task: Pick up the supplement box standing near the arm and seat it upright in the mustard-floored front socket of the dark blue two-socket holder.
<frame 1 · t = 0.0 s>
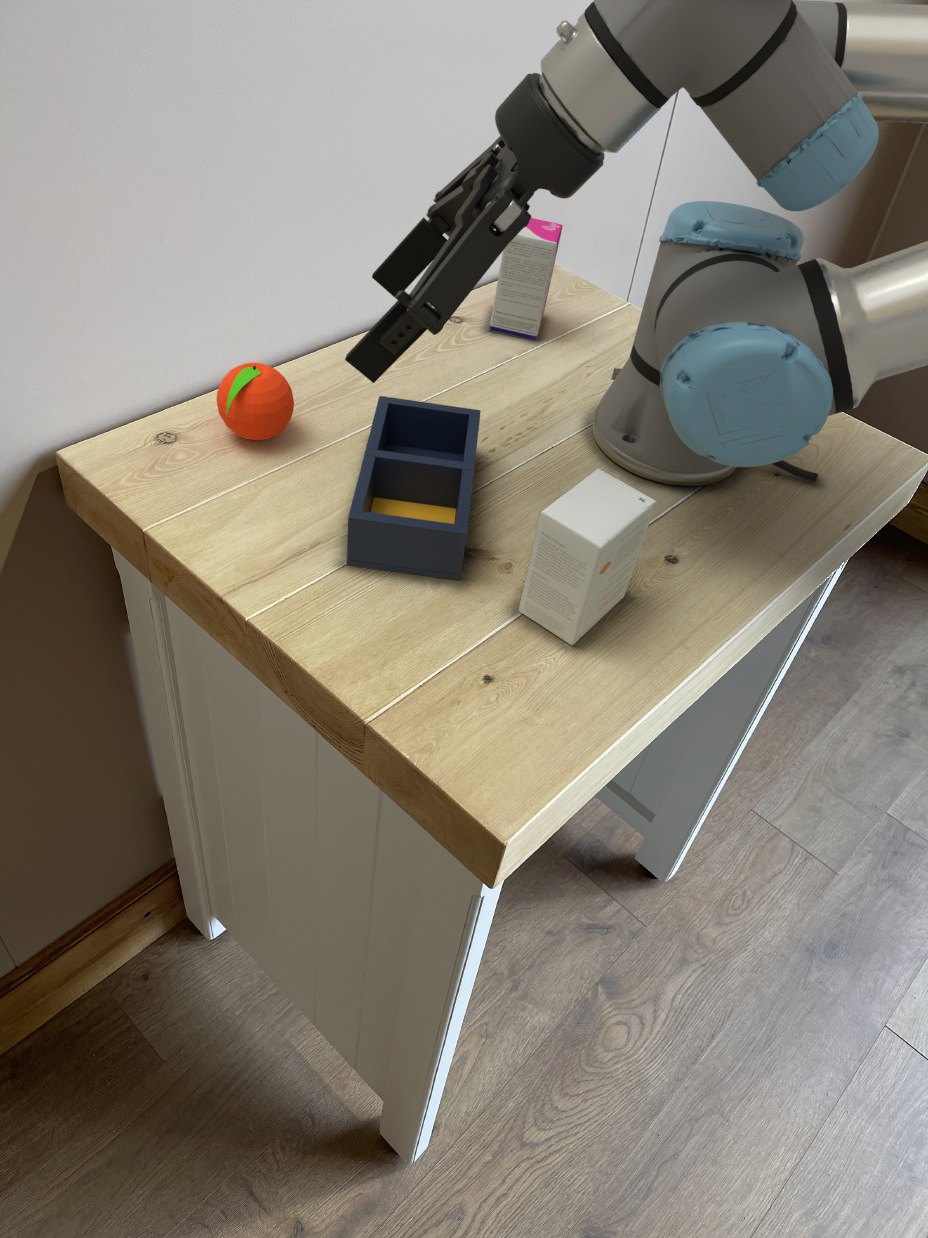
hand: (372, 325, 73), 15 cm above the table, tool tilted 35°, fingers open, 13 cm apart
clementine: (254, 438, 86), on the table
supplement box: (516, 326, 108), on the table
holder: (415, 505, 82), on the table
small box: (570, 606, 75), on the table
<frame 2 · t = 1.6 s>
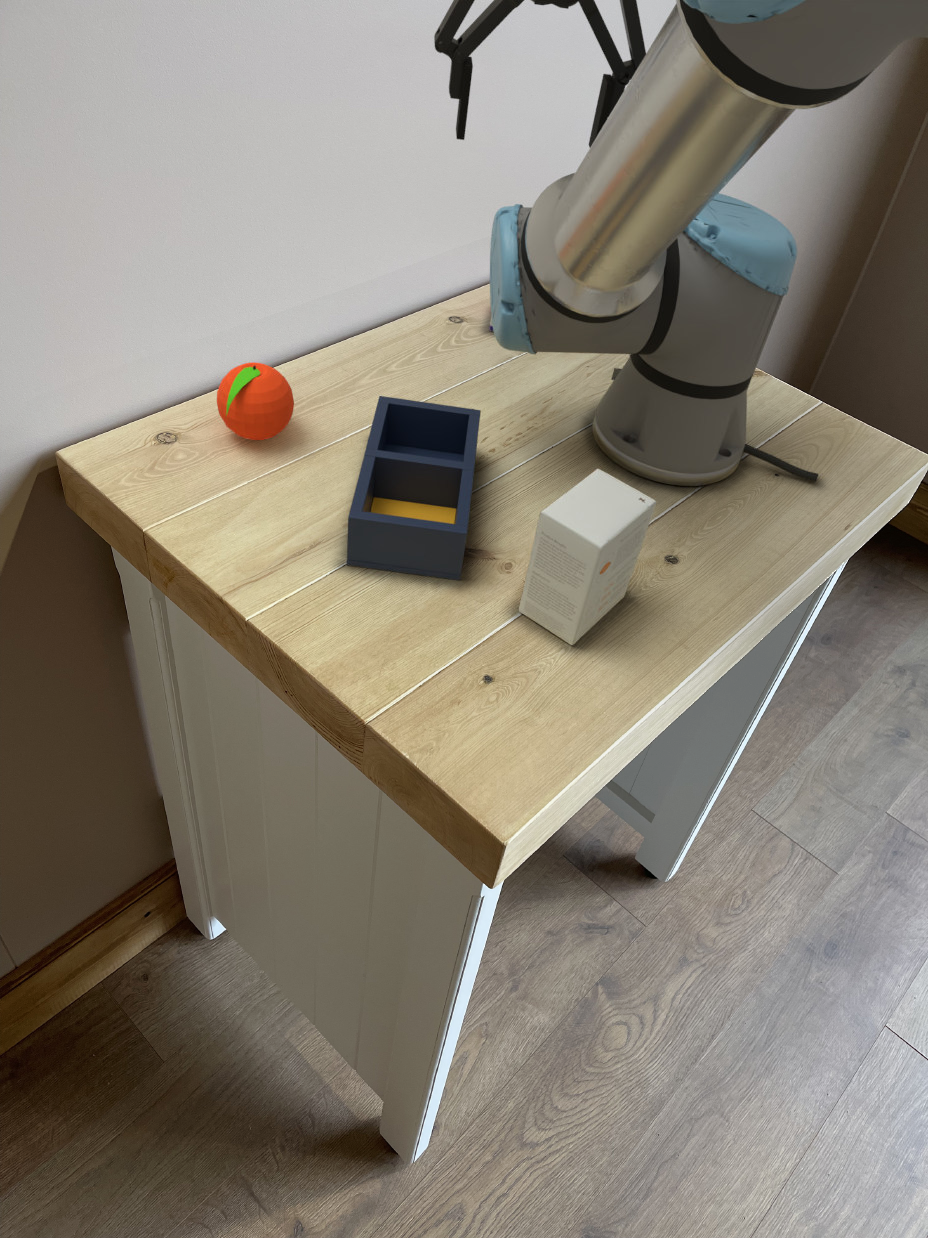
hand: (527, 142, 92), 20 cm above the table, tool pointing down, fingers open, 13 cm apart
nothing on the table moved.
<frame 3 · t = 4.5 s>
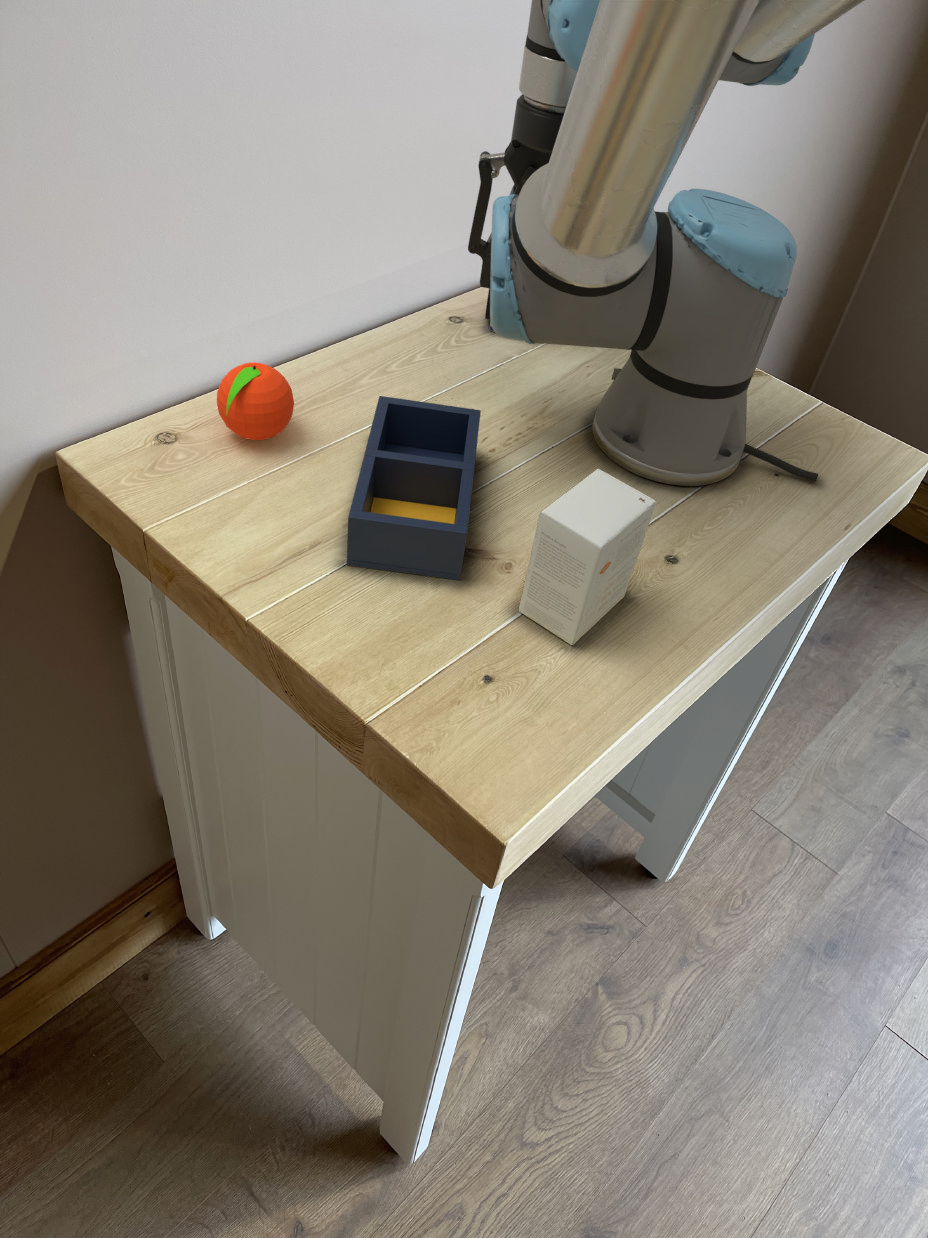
hand: (518, 317, 107), 1 cm above the table, tool pointing down, fingers closed on supplement box, 6 cm apart
supplement box: (516, 326, 108), on the table, touching gripper
everything else where it was.
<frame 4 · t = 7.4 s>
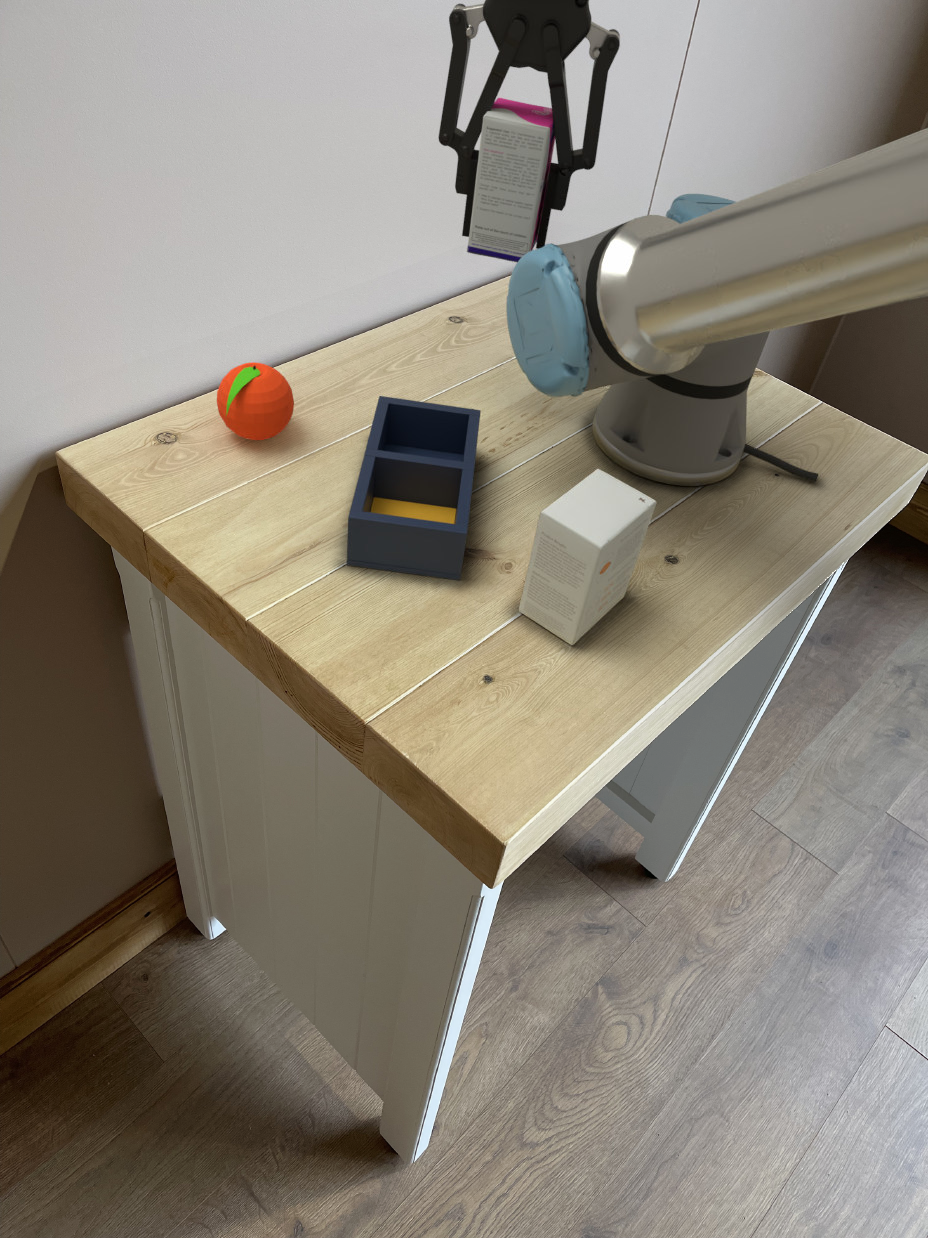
hand: (504, 236, 84), 17 cm above the table, tool pointing down, fingers closed on supplement box, 6 cm apart
supplement box: (503, 248, 85), point 16 cm above the table, touching gripper
everything else where it was.
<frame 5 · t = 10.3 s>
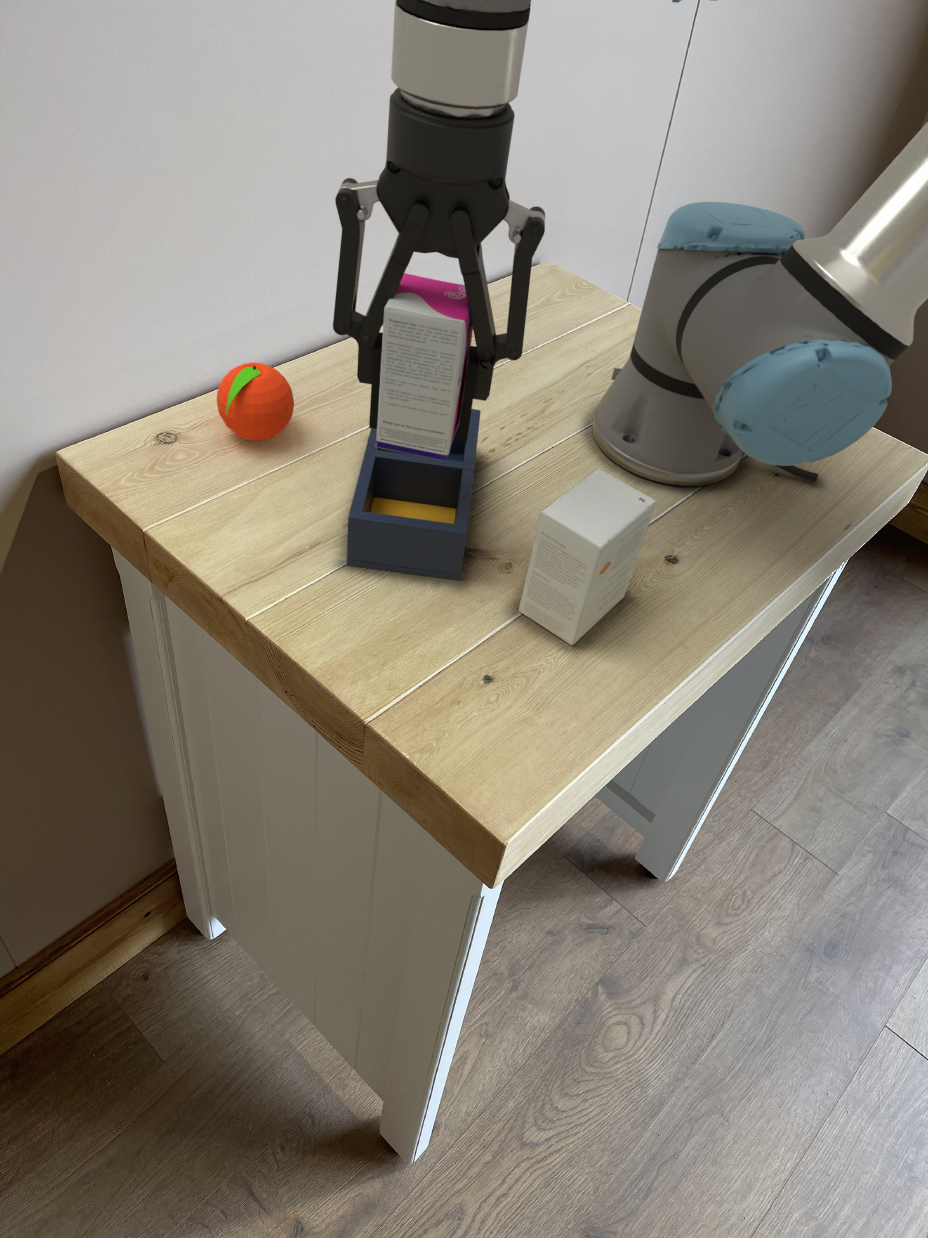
hand: (420, 424, 71), 11 cm above the table, tool pointing down, fingers closed on supplement box, 6 cm apart
supplement box: (420, 436, 72), point 10 cm above the table, touching gripper
everything else where it was.
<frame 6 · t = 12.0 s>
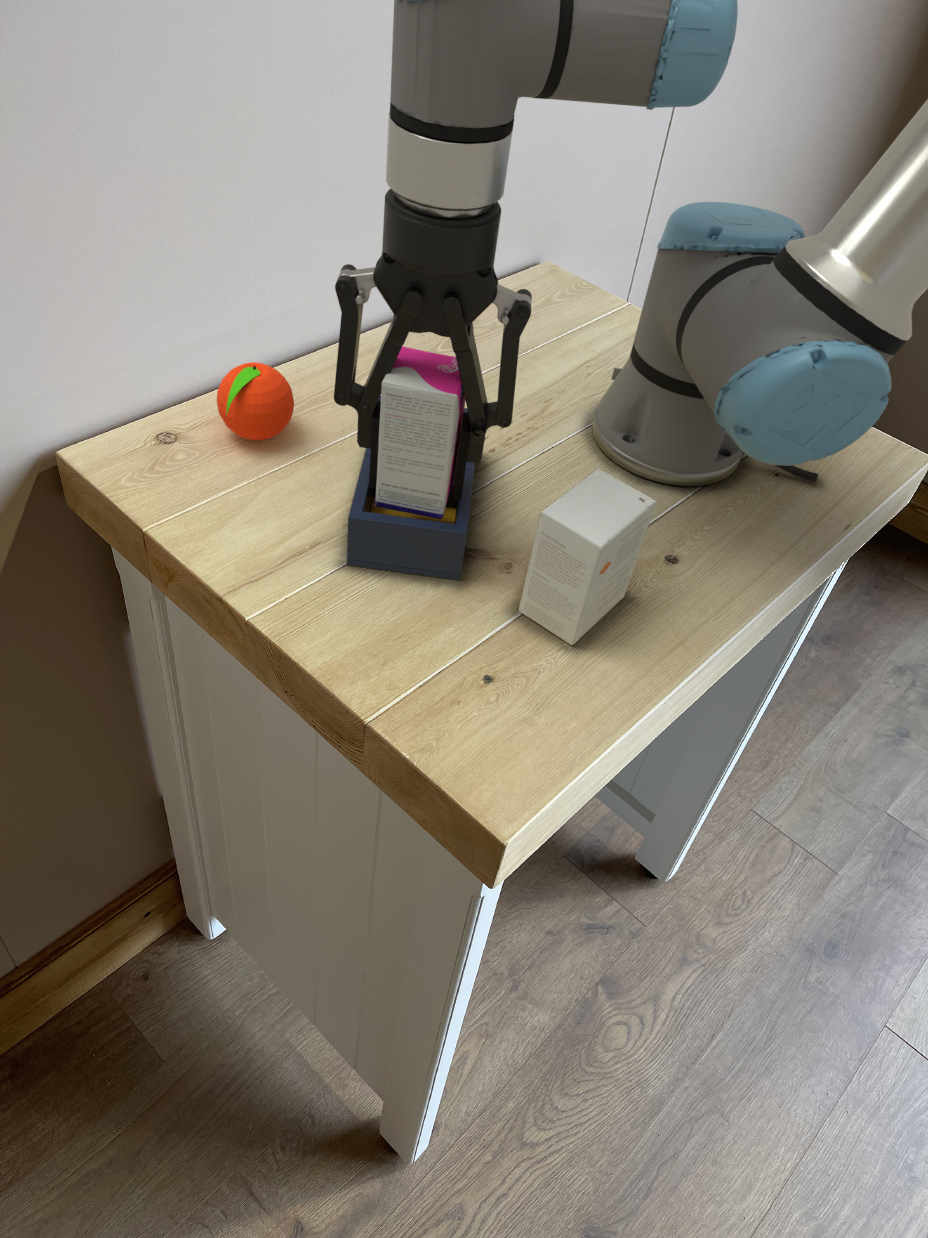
hand: (416, 483, 75), 6 cm above the table, tool pointing down, fingers closed on supplement box, 6 cm apart
supplement box: (417, 494, 76), point 4 cm above the table, touching gripper
everything else where it was.
when the fingers open (6 cm above the table, at t = 16.1 s): supplement box drops 4 cm, resting on holder.
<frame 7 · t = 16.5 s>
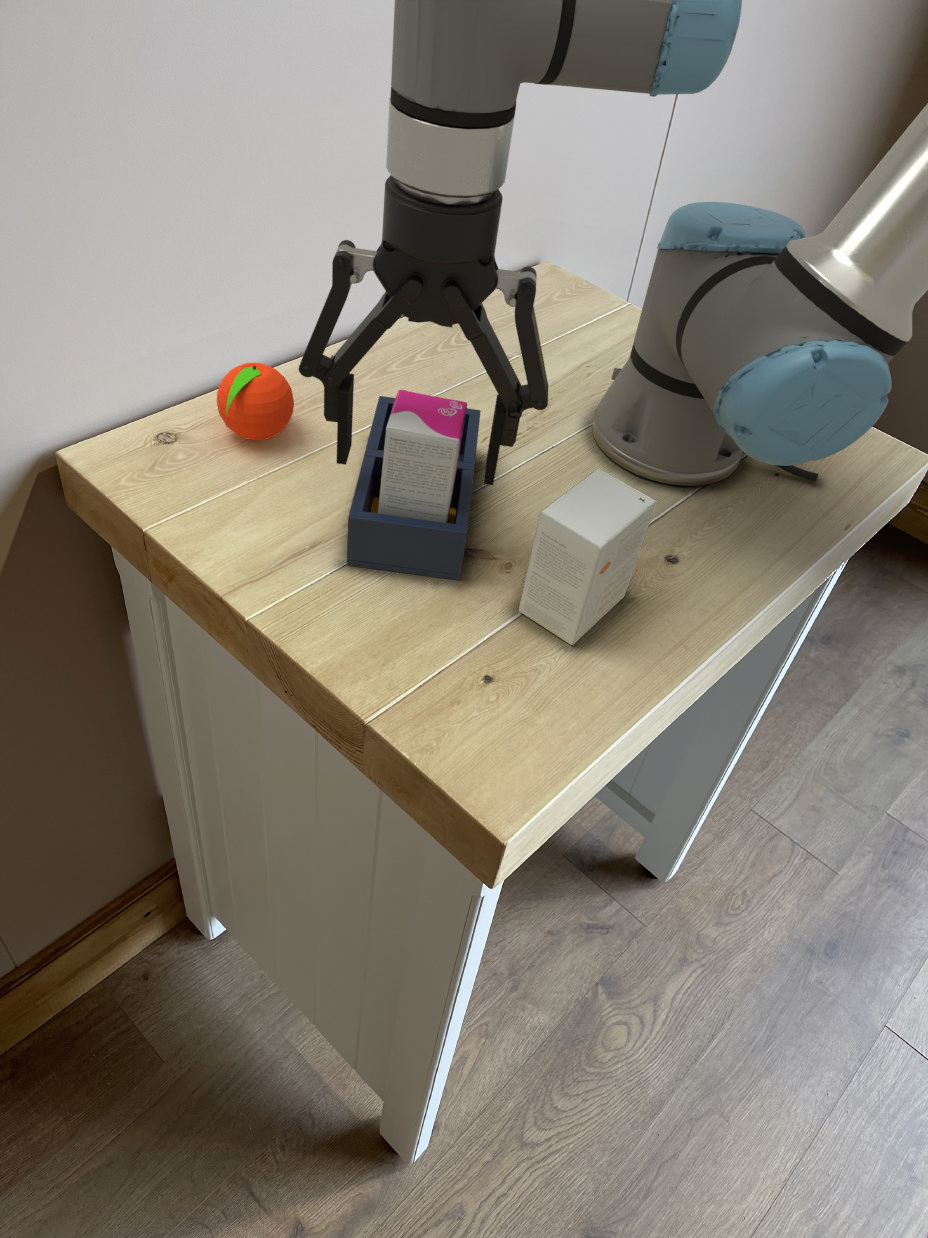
hand: (416, 464, 74), 8 cm above the table, tool pointing down, fingers open, 11 cm apart
supplement box: (414, 529, 79), point 1 cm above the table, touching holder
everything else where it was.
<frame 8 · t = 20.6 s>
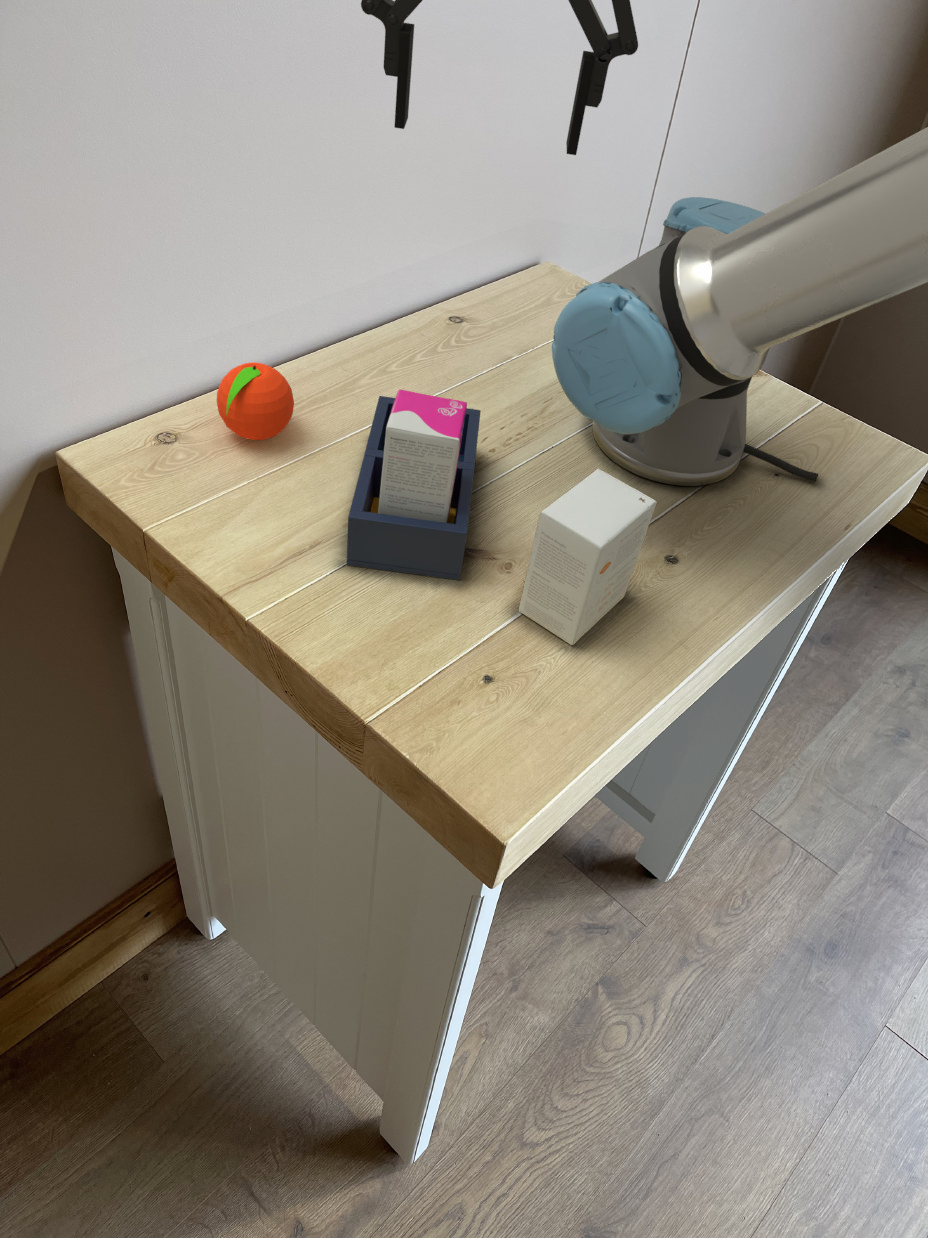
hand: (486, 136, 73), 27 cm above the table, tool pointing down, fingers open, 13 cm apart
nothing on the table moved.
at the end: supplement box 0.4 cm from the target spot in the holder, point 0.6 cm above the holder's base; supplement box tilted 0° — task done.
